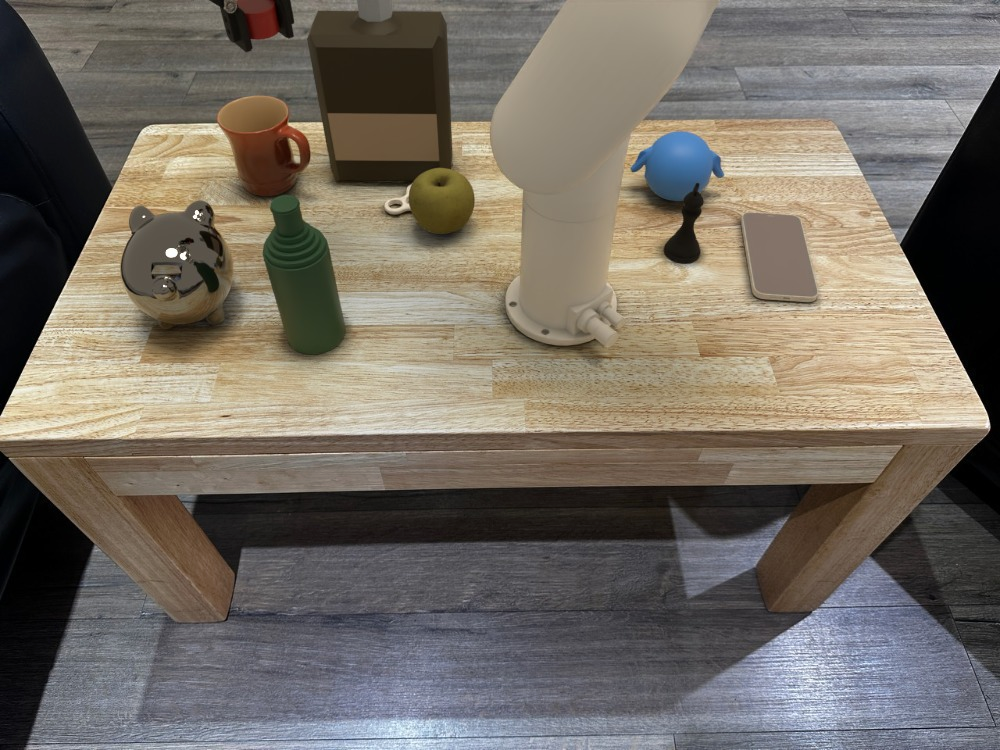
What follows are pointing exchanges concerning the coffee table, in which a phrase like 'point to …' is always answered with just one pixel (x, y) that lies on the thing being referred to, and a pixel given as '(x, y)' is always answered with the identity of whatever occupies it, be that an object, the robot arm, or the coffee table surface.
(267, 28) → the cap
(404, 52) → the bottle
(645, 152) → the blue mole toy
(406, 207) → the fidget spinner
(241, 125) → the mug
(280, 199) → the sauce bottle
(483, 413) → the coffee table surface
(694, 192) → the chess piece
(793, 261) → the smartphone
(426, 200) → the apple
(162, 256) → the piggy bank
